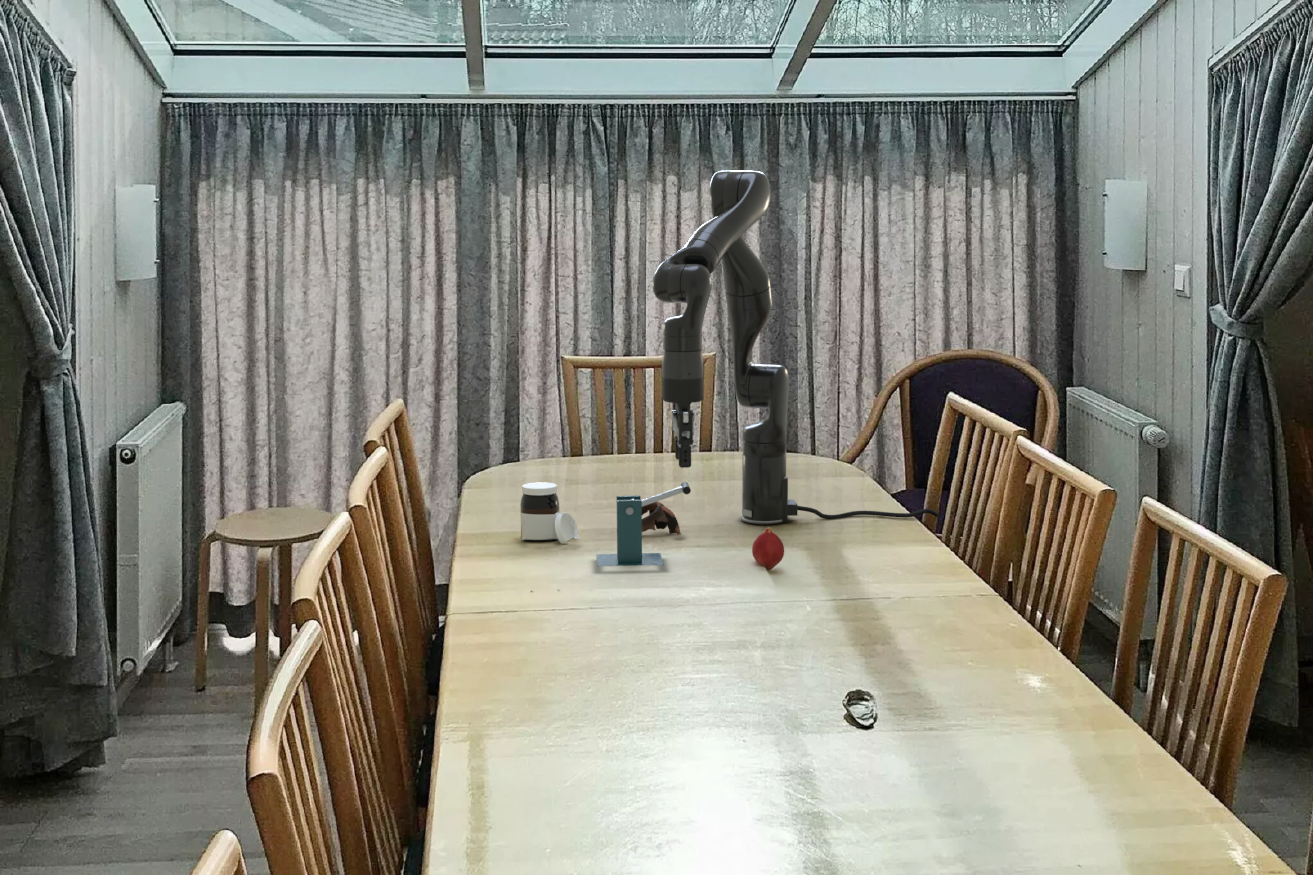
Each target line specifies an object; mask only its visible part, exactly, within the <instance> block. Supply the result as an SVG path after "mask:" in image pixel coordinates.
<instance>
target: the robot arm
mask: <svg viewBox="0 0 1313 875" xmlns="http://www.w3.org/2000/svg"><path fill="white" fill-rule="evenodd" d="M771 194H772V193H771V184H770V181H769V178H768V176H767V175H766V174H765V173H763V172H761V171H757V170H719V171H716V172H715V173H714V174H713V175H712V177H711V179H710V183H709V200H710V201H709V204H710V208H711V209H710V210H711V214H712V218H711V219H710V220H708V221H706V222H704V223H703V224H702V225H700V226H699V227H698V228H697V229H696V230H695V231H694V232H693V233H692V234H691V236H690V237H689V239H688V240H687V242H686V243H685V244H684V246H683V247H682V248H681V249H679V250H677V251H676V252H675V253H673V254H671V255H670V256H669V257H668V258H666V259H665V260H664V261H663V262H661V263H660V264H659V266H658V267H657V268H656V269H655V272H654V274H653V277H652V280H651V281H652V282H651V288H652V292H653V294H654V296H655V297H656V298H657V300H659V301H661V302H662V303H667V304H686V307H685V309H684V311H683V313H682V314H680V315H676V316H671V317H667V318H666V319H665V320H664V322H663V325H662V357H661V358H662V359H661V399H662V401H663V402H666V403H670V404H672V407H673V409H672V410H671V411H670V412H671V413H670V415H671V427H672V428H671V429H672V432H673V437H674V452H675V454H674V455H675V456H674V457H675V460H678V467H679V468H681V469H684V468H685V469H688V468H691V467H692V447H693V444H694V442H695V441H694V435H695V434H694V433H695V425H694V424H695V423H694V422H695V417H696V416H695V411H694V410H693V409H691V405H692V403H700V402H702V401H703V400H704V358H703V324H704V321H705V320H704V319H705V315H706V311H707V306H708V304H709V300H710V296H711V293H712V286H713V280H712V275H711V274H712V273H714V271H715V270H716V268H717V267H718V265H719V264H720V262H721V265H722V273H723V285H724V295H725V302H726V308H727V316H728V320H729V327H730V328H729V329H730V335H731V344H732V359H733V360H732V361H733V362H732V363H733V380H734V382H733V383H734V392H735V397H736V400H737V402H738V404H739V405H740V406H741V407H743V408H749V409H768V414H767V416H766V417H765V418H763V419H762V420H760V421H757V422H754V423H751V424H747V425H745V426H744V427H743V429H742V452H741V454H742V460H741V461H742V462H741V463H742V464H741V466H742V467H741V468H742V475H741V476H742V477H741V478H742V479H741V480H742V481H741V482H742V484H741V485H742V487H741V488H742V489H741V491H742V492H741V496H742V498H741V514H742V515H741V521H742V522H744V523H747V524H752V525H764V526H765V525H778V524H783V523H786V524H787V523H788V517H790V516H792V517H793V516H795V517H796V516H798V511H800V512H808V513H811V514H814V515H816V516H818V517H819V518H820V519H826V520H836V519H843V518H848V517H853V516H877V517H888V518H904V519H905V518H915V517H917V516H920V515H923V514H930V515H933V516H934V517H935V518H940V517H941V516H940V514H939V513H938V512H937V511H936V510H934V509H932V508H923V509H919V510H917V511H913V512H890V511H889V512H888V511H880V510H879V511H877V510H854V511H848V512H843V513H838V514H826V513H822V512H821V511H820V510H818V509H816V508H813V507H809V506H803V505H798V503H797V502H796V500H794V499H789V479H788V477H787V438H788V437H787V431H788V422H789V421H788V415H789V397H790V396H789V395H790V375H789V371H788V369H787V367H785V365H783V364H768V363H767V364H766V363H754V361H753V349H754V346H755V344H756V341H757V339H758V337H759V335H760V333H761V332H762V330H763V329H764V326H765V325H766V323H767V321H768V319H769V317H770V315H771V313H772V310H773V297H772V288H771V280H770V275H769V273H768V271H767V269H766V267H765V266H764V264H763V263H762V262H761V260H760V259H759V257H758V256H757V255H756V253H754V251H753V250H752V248H751V246H749V245H748V243H747V242H746V240H745V238H744V236H743V235H744V234H745V233H746V232H748V230H750V228H751V227H753V225H755V224H756V223H757V222H758V221H759V220H760V219H761V218H762V217H763V216H764V215H765V213H766V212H767V210H768V208H769V206H770V201H771Z"/></svg>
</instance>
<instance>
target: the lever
mask: <svg viewBox="0 0 1313 875" xmlns="http://www.w3.org/2000/svg"><path fill="white" fill-rule="evenodd" d="M691 491H692V489H691V487H690V485H689V483H688V482H687V481H682V482H681V483H680V486H678V487H675V488H672V489H669V490H666V491H664V492H661V493H657V494H655V495H651V496H649V497H646V498H644V499H641V500H642V506H645V505H648V504H651V503H654V502H657V501H658V502H660V501H663V500H665V499H668V498H672V497H675V496H677V495H679V494H682V493H683V494H684V495H689V494H690V493H691ZM630 500H634V498H633V499H630Z"/></svg>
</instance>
